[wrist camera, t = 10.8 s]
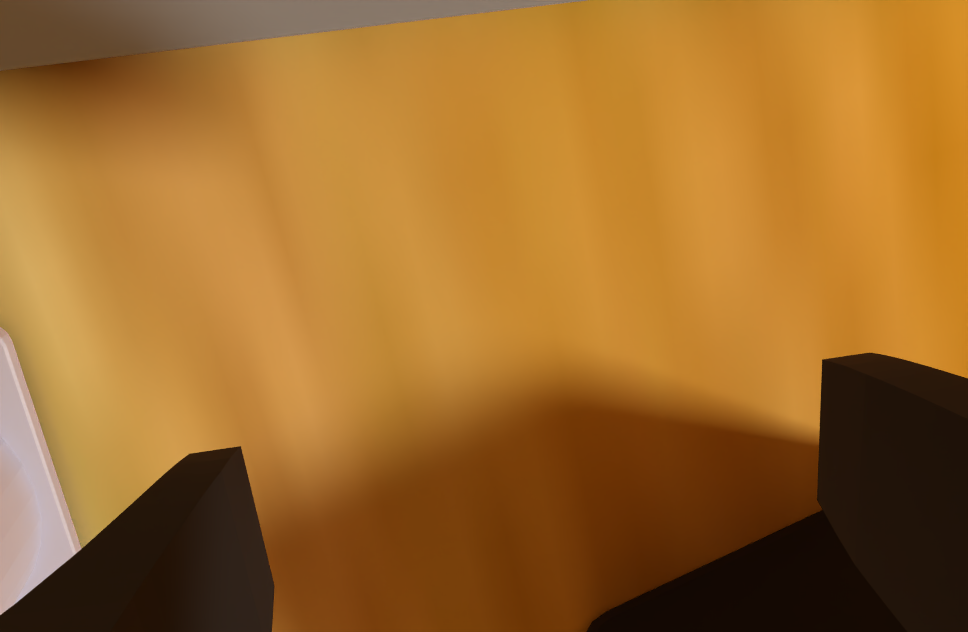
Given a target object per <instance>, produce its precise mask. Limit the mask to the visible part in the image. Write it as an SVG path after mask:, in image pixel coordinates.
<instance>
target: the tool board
mask: <svg viewBox="0 0 968 632" xmlns="http://www.w3.org/2000/svg"><path fill="white" fill-rule="evenodd" d="M577 1H585V0H0V71H2V70H10V69H18V68H27V67H35V66H44V65H52V64H60V63H68V62H77V61H85V60H93V59H102V58H110V57H119V56H127V55H135V54H143V53H152V52H160V51H168V50H177V49H185V48H193V47H202V46H210V45H218V44H227V43H235V42H243V41H252V40H260V39H268V38H277V37H285V36H293V35H302V34H310V33H318V32H327V31H335V30H343V29H352V28H360V27H368V26H377V25H385V24H393V23H402V22H410V21H418V20H427V19H435V18H443V17H452V16H460V15H468V14H477V13H485V12H493V11H502V10H510V9H518V8H527V7H535V6H543V5H552V4H560V3H568V2H577Z"/></svg>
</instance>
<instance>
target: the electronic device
mask: <svg viewBox="0 0 968 632" xmlns="http://www.w3.org/2000/svg"><path fill="white" fill-rule="evenodd" d="M587 632H907V631H906V630H905V628H904V627H903V626H902V625H901V623H900V622H899V621H898V620H897V618H896V617H895V616H894V615H893V613H892V612H891V611H890V609H889V608H888V607H887V606H886V604H885V603H884V602H883V601H882V599H881V598H880V597H879V595H878V594H877V593H876V592H875V590H874V589H873V588H872V587H871V585H870V584H869V583H868V581H867V580H866V579H865V577H864V576H863V575H862V573H861V572H860V571H859V570H858V568H857V567H856V566H855V564H854V563H853V561H852V559H851V558H850V556H849V554H848V553H847V551H846V549H845V548H844V546H843V544H842V543H841V541H840V539H839V538H838V536H837V534H836V533H835V531H834V529H833V527H832V525H831V524H830V522H829V520H828V518H827V516H826V515H825V513H824V511H823V510H822V511H820V512H818V513H816V514H814V515H811V516H809V517H807V518H805V519H803V520H801V521H799V522H796V523H794V524H792V525H790V526H788V527H786V528H784V529H782V530H779V531H777V532H775V533H773V534H771V535H769V536H767V537H764V538H762V539H760V540H758V541H756V542H754V543H752V544H750V545H747V546H745V547H743V548H741V549H739V550H737V551H735V552H732V553H730V554H728V555H726V556H724V557H722V558H720V559H718V560H715V561H713V562H711V563H709V564H707V565H705V566H703V567H701V568H698V569H696V570H694V571H692V572H690V573H688V574H686V575H683V576H681V577H679V578H677V579H675V580H673V581H671V582H669V583H666V584H664V585H662V586H660V587H658V588H656V589H654V590H651V591H649V592H647V593H645V594H643V595H641V596H639V597H637V598H634V599H632V600H630V601H628V602H626V603H624V604H622V605H619V606H617V607H615V608H613V609H611V610H609V611H607V612H606V613H604V614H603V615H601V616H600V617H599V618H597V619H596V620H594V621H593V622H592V624H591V625H590V627H589V628H588V630H587Z"/></svg>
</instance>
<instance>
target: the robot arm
mask: <svg viewBox="0 0 968 632" xmlns="http://www.w3.org/2000/svg"><path fill="white" fill-rule="evenodd" d="M817 500H818V502H819V504H820V506H821V507H822V509H823V511H824V513H825V515H826V516H827V518H828V520H829V522H830V524H831V525H832V527H833V529H834V531H835V533H836V534H837V536H838V538H839V539H840V541H841V543H842V544H843V546H844V548H845V549H846V551H847V553H848V554H849V556H850V558H851V559H852V561H853V563H854V564H855V566H856V567H857V568H858V570H859V571H860V572H861V573H862V575H863V576H864V577H865V579H866V580H867V581H868V583H869V584H870V585H871V587H872V588H873V589H874V590H875V592H876V593H877V594H878V595H879V597H880V598H881V599H882V601H883V602H884V603H885V604H886V606H887V607H888V608H889V609H890V611H891V612H892V613H893V615H894V616H895V617H896V618H897V620H898V621H899V622H900V623H901V625H902V626H903V627H904V628H905V630H906V631H907V632H968V379H967V378H964V377H961V376H958V375H954V374H951V373H948V372H945V371H942V370H938V369H935V368H932V367H928V366H925V365H921V364H918V363H914V362H911V361H907V360H903V359H899V358H895V357H891V356H886V355H881V354H875V353H864V354H857V355H851V356H844V357H837V358H830V359H824V360H822V383H821V410H820V436H819V463H818V490H817ZM273 602H274V582H273V578H272V574H271V570H270V566H269V562H268V558H267V553H266V549H265V545H264V541H263V537H262V533H261V528H260V524H259V520H258V516H257V512H256V508H255V503H254V499H253V495H252V491H251V487H250V483H249V479H248V474H247V470H246V466H245V462H244V458H243V454H242V449H241V446H239V447H233V448H226V449H219V450H213V451H206V452H199V453H192V454H189V455H187V456H186V457H185V458H183V459H182V460H181V461H179V462H178V463H177V464H176V465H174V466H173V467H172V468H171V469H170V470H169V471H168V472H166V473H165V474H164V475H163V476H162V477H161V478H160V479H159V480H157V481H156V482H155V483H154V484H153V485H152V486H151V487H150V488H149V489H148V490H146V491H145V492H144V493H143V494H142V495H141V496H140V497H139V498H138V499H137V500H136V501H134V502H133V503H132V504H131V505H130V506H129V507H128V508H127V509H126V510H125V511H123V512H122V513H121V514H120V515H119V516H118V517H117V518H116V519H115V520H113V521H112V522H111V523H110V524H109V525H108V526H107V527H106V528H105V529H103V530H102V531H101V532H100V533H99V534H98V535H97V536H96V537H95V538H94V539H92V540H91V541H90V542H89V543H88V544H87V545H86V546H84V547H83V548H82V549H81V546H80V543H79V540H78V537H77V534H76V531H75V528H74V525H73V522H72V519H71V516H70V513H69V510H68V507H67V504H66V501H65V498H64V495H63V492H62V489H61V486H60V483H59V480H58V477H57V474H56V471H55V468H54V465H53V462H52V459H51V456H50V453H49V450H48V447H47V444H46V441H45V438H44V435H43V432H42V429H41V426H40V423H39V420H38V417H37V414H36V411H35V408H34V405H33V402H32V399H31V396H30V393H29V390H28V387H27V384H26V381H25V378H24V375H23V372H22V369H21V366H20V363H19V360H18V357H17V354H16V351H15V348H14V345H13V342H12V340H11V338H10V336H9V335H8V333H7V332H6V331H5V330H3V329H2V328H1V327H0V632H272V619H273Z"/></svg>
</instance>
